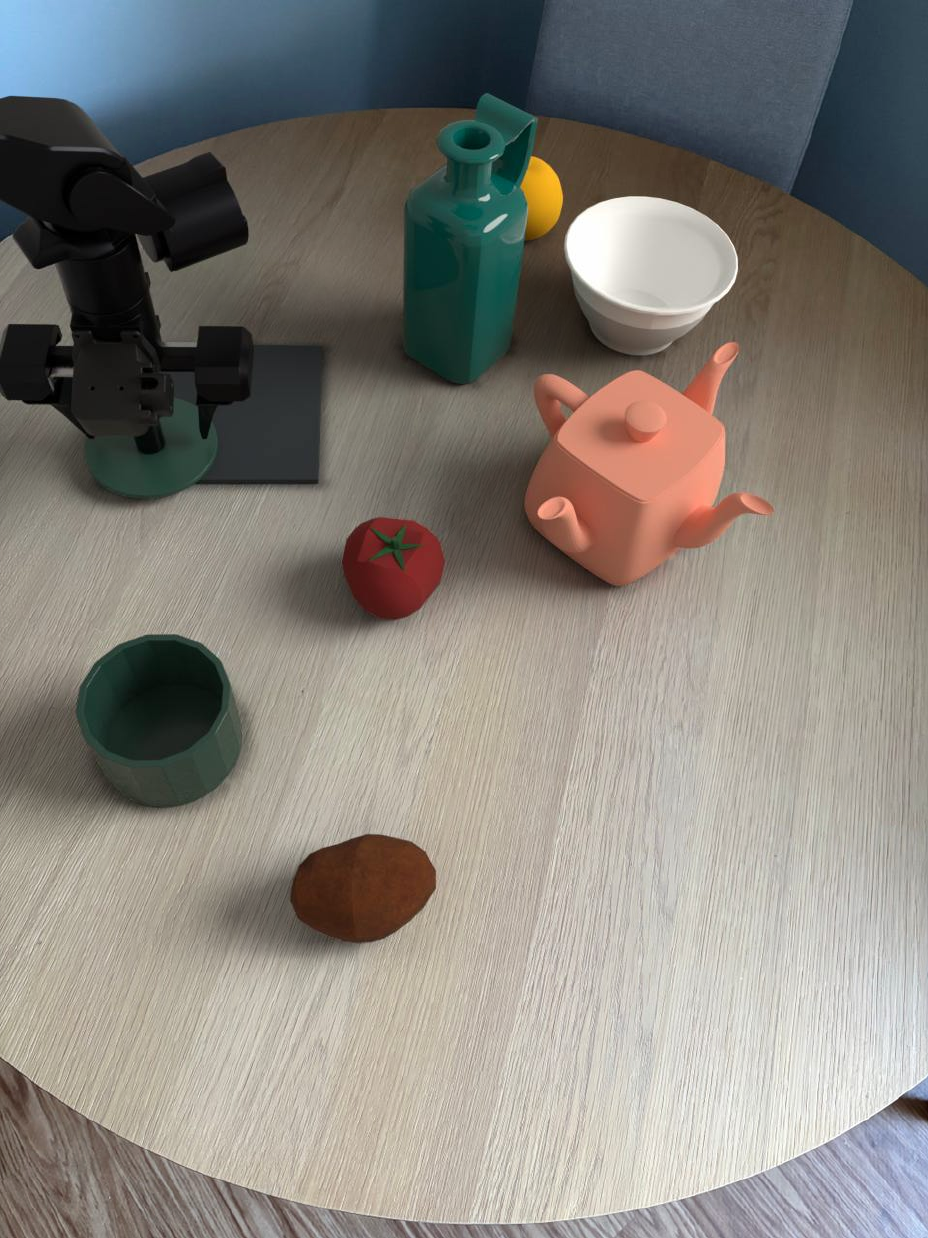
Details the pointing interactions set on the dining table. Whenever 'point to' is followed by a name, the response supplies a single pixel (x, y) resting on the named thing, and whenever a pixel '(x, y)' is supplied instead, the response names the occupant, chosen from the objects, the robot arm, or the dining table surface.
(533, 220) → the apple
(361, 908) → the potato
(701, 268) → the bowl
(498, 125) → the pitcher
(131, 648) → the tin
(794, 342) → the dining table surface
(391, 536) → the tomato
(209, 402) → the robot arm
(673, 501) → the pot
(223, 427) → the mat
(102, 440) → the tin lid
